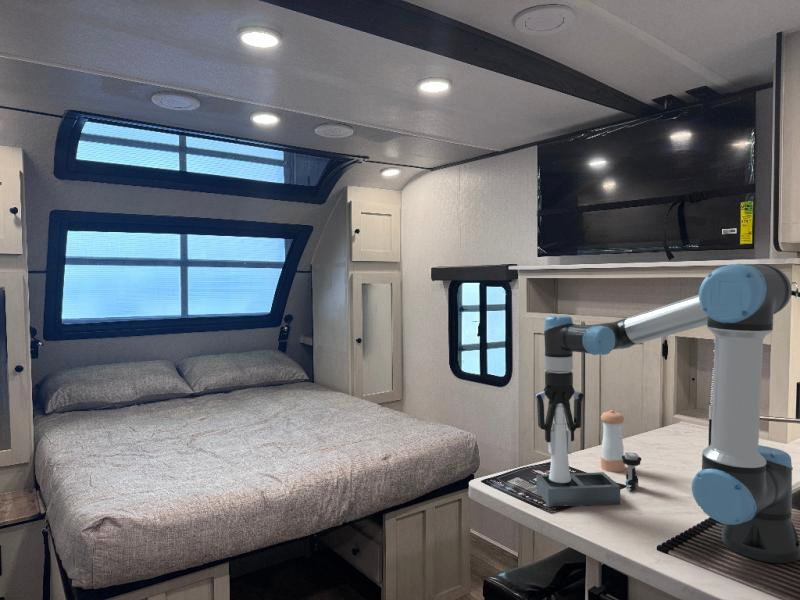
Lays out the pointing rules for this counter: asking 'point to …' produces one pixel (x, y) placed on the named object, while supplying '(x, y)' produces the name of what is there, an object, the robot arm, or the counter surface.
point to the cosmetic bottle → (559, 449)
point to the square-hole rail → (579, 490)
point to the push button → (631, 470)
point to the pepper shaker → (612, 442)
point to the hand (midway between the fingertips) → (559, 452)
